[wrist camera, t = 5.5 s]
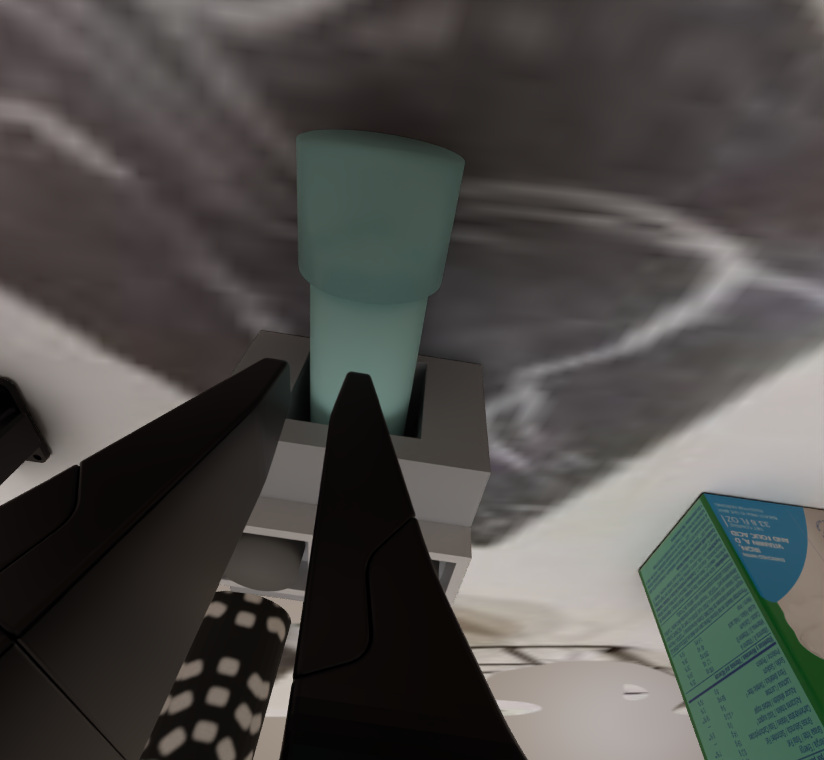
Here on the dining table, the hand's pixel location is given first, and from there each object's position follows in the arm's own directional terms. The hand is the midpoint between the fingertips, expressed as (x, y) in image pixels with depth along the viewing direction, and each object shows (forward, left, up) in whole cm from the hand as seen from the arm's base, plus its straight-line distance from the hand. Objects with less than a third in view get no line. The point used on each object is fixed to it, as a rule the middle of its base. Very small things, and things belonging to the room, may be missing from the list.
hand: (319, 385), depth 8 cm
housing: (0, -13, -12) cm, 18 cm away
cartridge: (0, -8, -12) cm, 14 cm away
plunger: (-3, -13, -5) cm, 14 cm away
